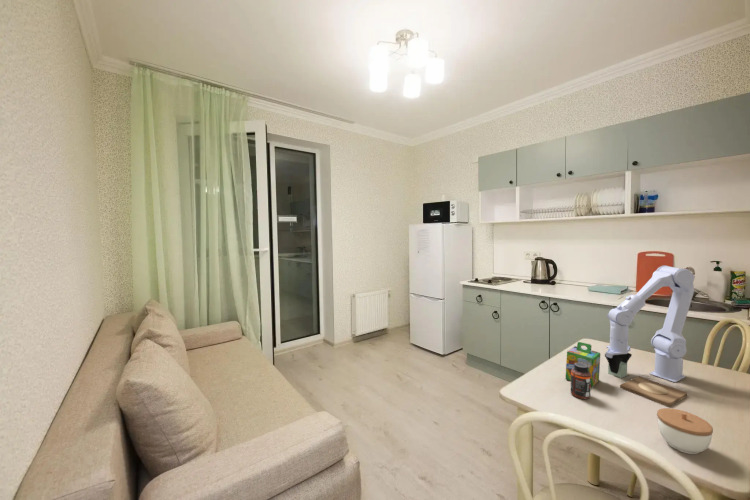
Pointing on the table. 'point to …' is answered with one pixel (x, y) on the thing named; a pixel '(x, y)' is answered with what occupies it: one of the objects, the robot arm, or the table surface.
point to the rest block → (621, 372)
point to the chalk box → (583, 361)
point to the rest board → (654, 391)
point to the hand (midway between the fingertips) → (617, 371)
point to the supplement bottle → (580, 381)
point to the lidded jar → (684, 430)
